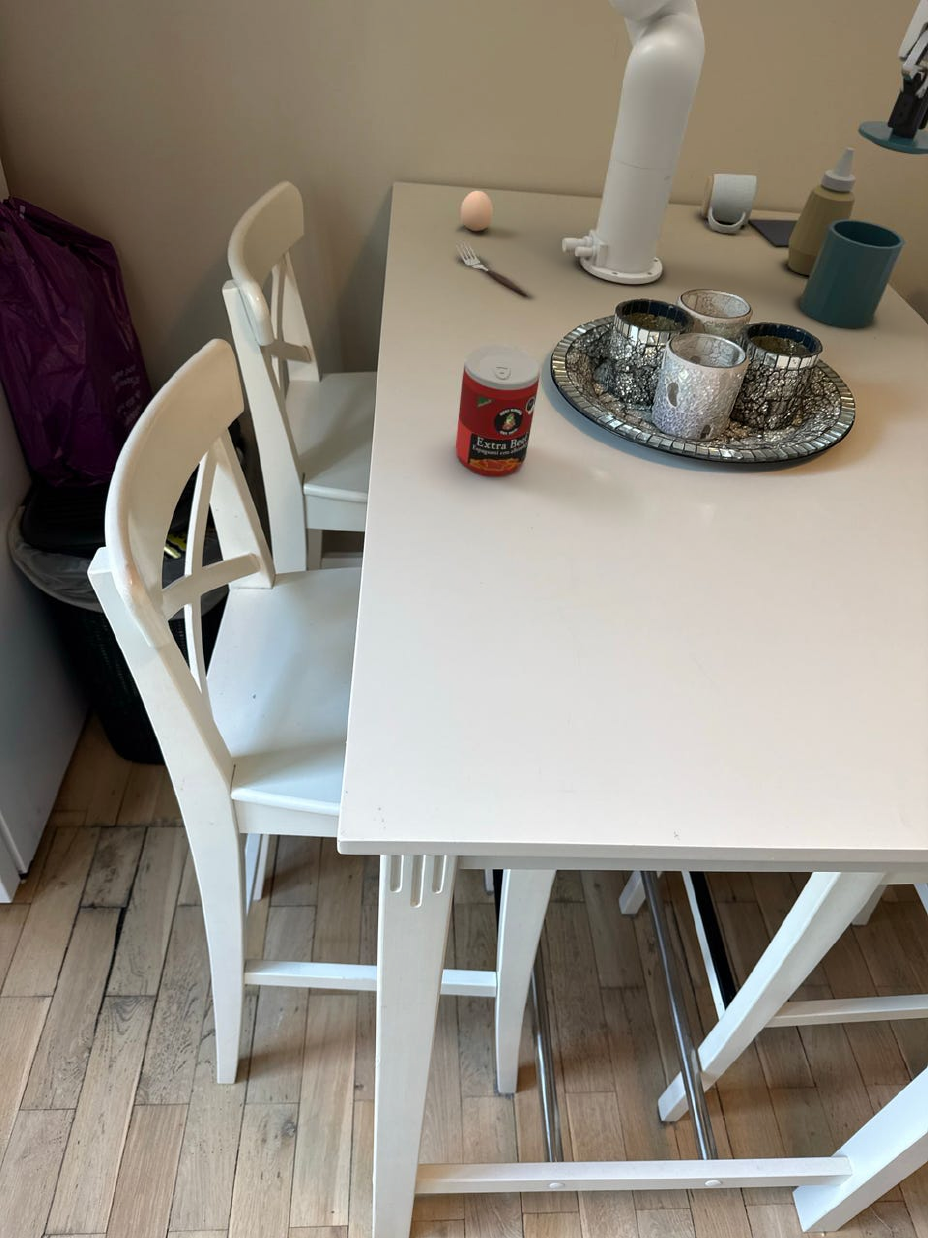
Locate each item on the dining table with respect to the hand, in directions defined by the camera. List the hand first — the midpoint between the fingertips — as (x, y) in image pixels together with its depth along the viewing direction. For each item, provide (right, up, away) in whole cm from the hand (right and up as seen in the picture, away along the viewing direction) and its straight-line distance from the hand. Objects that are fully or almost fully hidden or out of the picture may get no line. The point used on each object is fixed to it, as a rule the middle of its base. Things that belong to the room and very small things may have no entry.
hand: (906, 126), depth 114 cm
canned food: (-55, -47, -19) cm, 74 cm away
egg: (-56, -2, +27) cm, 62 cm away
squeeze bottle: (-2, -8, +28) cm, 29 cm away
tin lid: (0, -1, +1) cm, 2 cm away
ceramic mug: (-12, +5, +40) cm, 42 cm away
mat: (-1, +3, +39) cm, 39 cm away
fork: (-53, -14, +15) cm, 57 cm away
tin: (-2, -18, +17) cm, 25 cm away
